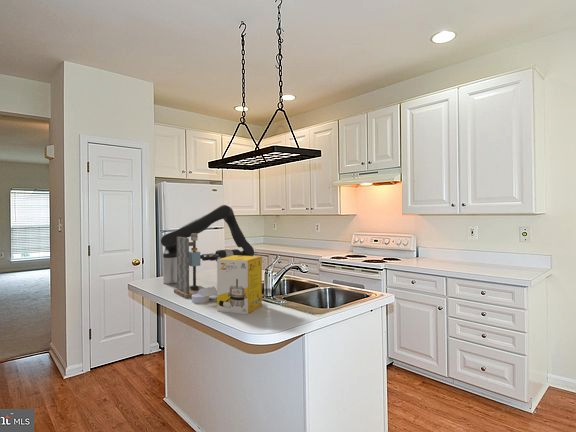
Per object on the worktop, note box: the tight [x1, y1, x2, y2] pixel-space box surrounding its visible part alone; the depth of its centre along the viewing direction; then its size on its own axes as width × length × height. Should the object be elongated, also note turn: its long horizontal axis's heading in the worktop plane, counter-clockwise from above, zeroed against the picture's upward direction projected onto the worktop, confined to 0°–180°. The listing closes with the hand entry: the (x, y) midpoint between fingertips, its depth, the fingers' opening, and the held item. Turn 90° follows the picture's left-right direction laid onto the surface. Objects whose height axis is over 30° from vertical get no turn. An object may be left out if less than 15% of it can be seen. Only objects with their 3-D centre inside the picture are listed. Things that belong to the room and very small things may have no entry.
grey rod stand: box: [173, 233, 205, 299], centre depth 208 cm, size 18×16×35 cm
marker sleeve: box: [189, 250, 201, 267], centre depth 208 cm, size 5×5×8 cm
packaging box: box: [216, 255, 263, 315], centre depth 176 cm, size 16×16×25 cm
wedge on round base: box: [191, 286, 217, 304], centre depth 191 cm, size 9×7×13 cm
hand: (199, 258), depth 210 cm, fingers open, 8 cm apart
